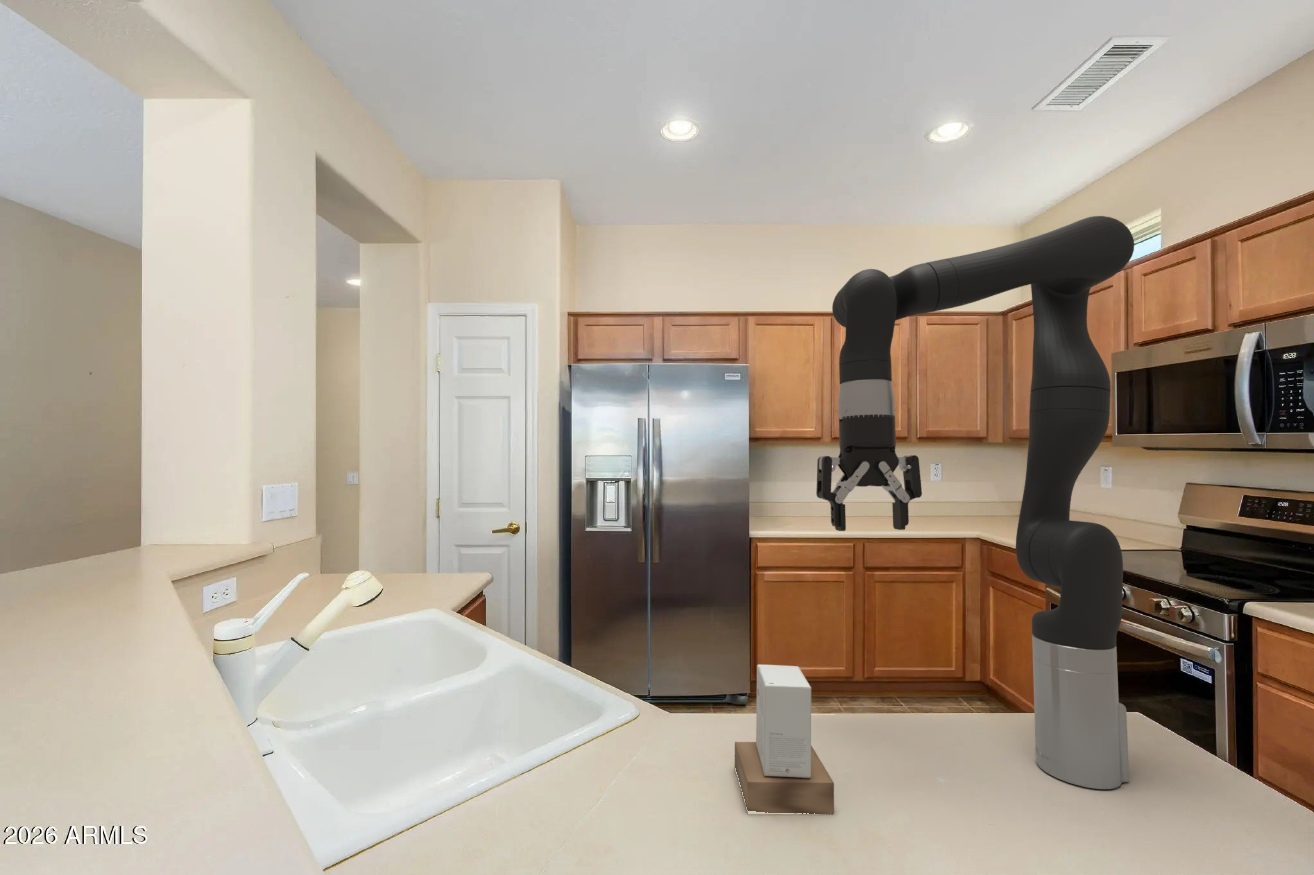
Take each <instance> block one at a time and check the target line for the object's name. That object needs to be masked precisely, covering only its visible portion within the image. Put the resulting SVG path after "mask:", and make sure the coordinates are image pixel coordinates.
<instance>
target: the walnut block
mask: <svg viewBox="0 0 1314 875" xmlns="http://www.w3.org/2000/svg"><path fill="white" fill-rule="evenodd" d="M735 768H736V772H737V775H738V778H739V782H740V785H741V789H742V792H743V796H744V799H745V803H746V807H747V810H748V811H756V812H765V813H767V812H768V813H802V814H803V813H806V814H807V813H809V814H814V813H815V814H829V815H828V816H834V815H835V783H834V781H833V778H831V776H830V774H829V772H828V770H827V768H826V766H825V765H824V764H823V761H822V760H821V758H820V757H819V756H818V754H817V752H816V750H815V749H814V748H813V745H811V777H810V778H800V777H780V776H765V775H764V772H763V768H762V765H761V761H760V757H759V753H758V749H757V746H756V741H734V769H735ZM745 803H744V804H745ZM746 807H745V808H746ZM747 810H746V811H747ZM830 814H831V815H830ZM833 814H834V815H833Z"/></svg>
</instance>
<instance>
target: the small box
mask: <svg viewBox="0 0 1314 875" xmlns="http://www.w3.org/2000/svg"><path fill="white" fill-rule="evenodd" d="M755 717H756V722H755V723H756V725H755V726H756V727H755V730H756V732H755V735H756V736H755V742H756V746H757V749H758V753H759V757H760V761H761V765H762V768H763V772H764V775H765V776H780V777H800V778H810V777H811V746H812V686H811V684H810V683H809V682H808V680H807V678H806V677H805V675H804V673H803V672H802V670H801V668H800V667H799V666H797V665H796V666H795V665H779V664H778V665H777V664H757V665H756V716H755Z"/></svg>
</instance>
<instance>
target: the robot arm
mask: <svg viewBox="0 0 1314 875" xmlns="http://www.w3.org/2000/svg"><path fill="white" fill-rule="evenodd" d="M1134 251H1135V239H1134V237H1133V234H1132V232H1131V231H1130V229H1129V227H1128V226H1127V225H1126V224H1125V223H1124V222H1122V221H1121V220H1118V219H1116V218H1113V217H1111V216H1105V215H1094V216H1089V217H1085V218H1082V219H1080V220H1078V221H1074V222H1073V223H1070V224H1068V225H1065V226H1062V227H1059V228H1057V229H1053V230H1052V231H1048V232H1046V233H1043V234H1039V235H1037V236H1033V237H1030V238H1027V239H1024V240H1020V241H1017V242H1014V243H1013V242H1012V243H1008V244H1005V245H1002V246H997V247H994V248H990V249H986V250H982V251H977V252H972V253H967V254H963V255H959V256H952V257H949V258H942V259H938V260H933V261H932V260H931V261H928V262H924V263H920V264H915V265H911V266H910V267H908V268H906V269H903V271H901V272H899V273H897V274H894V275H891V276H888V275H887V274H886V273H885V272H883V271H882V270H879V269H877V268H875V269H874V268H867V269H863V270H861V271H859V272H857V273H855V274H854V275H853V276H851V278H850V279H848V281H847V282H846V283H845V284H844V285H843V286H842V287H841V288H840V290H838V292H837V293H836V295H835V296H834V299H833V302H832V309H831V310H832V315H833V317H834V319H835V321H836V323H838V324H839V325H840V326H842V327H843V328H845V337H844V338H845V339H844V342H843V345H842V346H841V348H840V351H839V355H838V356H839V359H838V367H839V368H838V371H839V372H838V374H839V375H838V376H839V392H838V399H837V402H838V403H837V405H838V406H837V408H838V436H839V455H838V457H834V456H832V457H831V456H829V455H822V456H819V457H818V458H817V460H816V461H817V462H816V463H817V464H816V465H817V466H816V491H815V492H816V494H815V495H816V497H817V498H818V499H822V500H824V501H827V502H829V504H830V523H831V525H832V527H834V529H835V531H838V532H846V530H847V523H846V504H843V503H844V501H845V499H846V498H847V497H848V495H849V494H850V492H852V491H853V490H855V488H856V487H862V488H863V487H864V488H865V487H882V489H883V490H884V491H887V493H888V495H889V496H890V497H891V498H892V500H893V501H894V502H891V504H892V505H891V506H892V507H891V508H892V526H893V529H895V530H898V531H899V530H900V531H904V530H906V526H908V525H909V520H910V519H909V518H910V517H909V502H910V501H912V500H914V499H917V498H918V499H919V498H922V495H923V491H922V480H921V479H922V478H921V470H920V468H921V467H920V460H919V459H920V458H919V456H917V455H915V454H913V455H912V454H911V455H904V456H899V457H898V456H897V454H896V447H897V438H896V437H897V436H896V431H897V430H896V406H895V401H896V400H895V394H894V393H895V392H894V388H893V378H892V376H893V374H892V355H891V349H892V342H893V338H894V332H895V325H896V324H895V323H896V321H899V320H902V319H904V318H907V317H908V318H909V317H910V316H916V315H923V314H928V313H933V312H939V311H942V310H943V311H944V310H948V309H953V308H958V307H962V306H966V305H969V304H972V303H975V302H979V301H981V300H984V299H988V298H991V297H993V296H997V295H1000V294H1002V293H1005V292H1008V291H1011V290H1014V289H1018V288H1021V287H1025V286H1029V285H1030V286H1031V287H1030V288H1031V290H1030V291H1031V292H1030V293H1031V304H1032V314H1033V315H1032V316H1033V342H1032V364H1031V365H1032V369H1031V370H1032V372H1031V374H1032V375H1031V384H1030V393H1029V414H1028V420H1029V428H1028V429H1029V431H1028V445H1027V446H1028V448H1027V459H1026V471H1025V480H1024V486H1023V487H1024V488H1023V494H1022V499H1021V506H1020V512H1019V517H1018V524H1017V527H1016V537H1015V554H1016V559H1017V560H1016V561H1017V563H1018V566H1019V568H1020V570H1021V571H1022V573H1023V574H1024V575H1026V577H1028V579H1030V580H1032V581H1035V582H1038V583H1041V584H1044V585H1045V584H1046V585H1049V586H1055V587H1059V588H1060V598H1059V603H1058V606H1057V607H1055V608H1053V609H1047V610H1041V611H1040V610H1039V611H1037V612H1035V613H1034V614H1033V615H1032V617H1031V639H1032V640H1031V641H1032V642H1031V643H1032V668H1033V669H1032V673H1033V674H1032V675H1033V703H1034V705H1033V708H1034V741H1035V742H1034V743H1035V746H1034V747H1035V748H1034V749H1035V763H1036V764H1037V766H1038V767H1039V768H1040V769H1041V770H1042V771H1044V772H1046V773H1047V774H1049V775H1050V776H1052V777H1054V778H1056V779H1059V780H1061V781H1063V782H1066V783H1069V784H1072V785H1076V786H1079V787H1083V788H1088V789H1096V790H1111V789H1112V790H1113V789H1118V787H1120V786H1121V785H1122V783H1130V768H1129V767H1130V766H1129V745H1128V744H1129V742H1128V720H1127V718H1128V717H1127V708H1126V706H1125V705H1124V704H1123V703H1121V702H1119V681H1118V679H1119V678H1118V677H1119V676H1118V674H1119V673H1118V661H1117V660H1118V652H1117V634H1118V632H1119V628H1120V627H1121V626H1120V625H1121V622H1122V617H1123V583H1124V581H1123V580H1124V579H1123V578H1124V560H1123V552H1122V548H1121V546H1120V545H1121V544H1120V543H1119V542H1120V541H1119V540H1118V538H1117V536H1116V535H1115V534H1114V532H1113V531H1111V529H1109V527H1107V526H1104V525H1102V524H1100V523H1096V522H1090V521H1080V520H1070V516H1071V514H1070V513H1071V501H1072V495H1073V492H1074V488H1075V484H1076V482H1077V479H1078V478H1079V475H1080V474H1081V473H1082V471H1083V469H1084V468H1085V466H1086V465H1087V464H1088V462H1089V461H1090V459H1091V458H1092V457H1093V455H1094V453H1095V452H1096V451H1097V449H1098V448H1099V446H1100V444H1101V443H1102V441H1103V440H1104V438H1105V436H1106V433H1107V431H1108V429H1109V428H1108V427H1109V426H1110V425H1109V424H1110V414H1111V412H1110V411H1111V392H1112V390H1111V386H1112V385H1111V378H1110V374H1109V372H1108V369H1107V366H1106V365H1105V362H1104V360H1103V358H1102V356H1101V355H1100V353H1099V351H1098V350H1097V348H1096V347H1095V344H1094V342H1093V341H1092V339H1091V337H1090V334H1089V329H1088V303H1089V302H1088V301H1089V296H1090V291H1091V288H1093V287H1096V286H1097V285H1099V284H1101V283H1103V282H1106V281H1107V280H1109V279H1111V278H1112V277H1114V276H1116V275H1117V274H1118V273H1119V272H1121V271H1122V270H1123V269H1125V267H1126V266H1127V265H1128V264H1129V262H1130V261H1131V259H1132V257H1133V255H1134ZM898 466H899V469H900V471H901V472H902V474H903V475H902V476H903V484H902V483H901V482H900V479H898V477H897V476H896V474H894V472H895V471H896V469H897V468H898ZM836 467H838V468H839V469H840V471H841V472H842V473H843V474H842V475H841V477H840V478H839V480H838V481H837V482H836V485H835V487H834V488H833V490H832V479H833V477H832V476H833V474H832V473H834V472H835V470H836ZM902 485H904V486H902ZM903 487H904V488H903Z"/></svg>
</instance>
